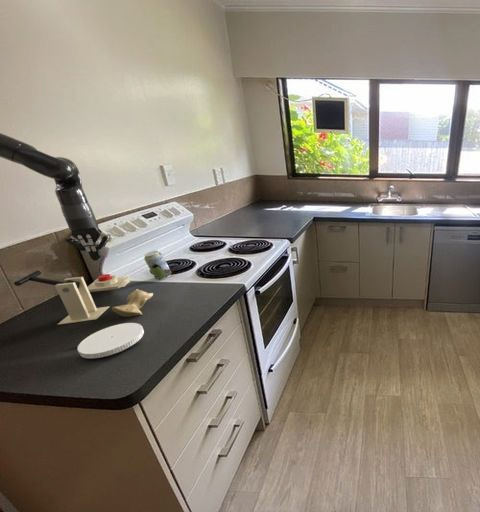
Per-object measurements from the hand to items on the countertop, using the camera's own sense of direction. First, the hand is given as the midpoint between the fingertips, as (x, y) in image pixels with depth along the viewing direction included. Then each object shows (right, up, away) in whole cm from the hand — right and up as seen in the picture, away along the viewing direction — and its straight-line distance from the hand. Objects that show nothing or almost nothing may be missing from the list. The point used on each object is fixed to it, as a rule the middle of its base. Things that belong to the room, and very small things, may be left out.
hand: (97, 259), depth 110 cm
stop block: (0, -11, +5) cm, 12 cm away
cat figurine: (+25, -18, -11) cm, 33 cm away
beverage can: (+15, -8, +13) cm, 21 cm away
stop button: (0, -8, +3) cm, 9 cm away
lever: (+6, -8, -21) cm, 23 cm away
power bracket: (+11, -19, -15) cm, 26 cm away
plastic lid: (+32, -24, -27) cm, 48 cm away
